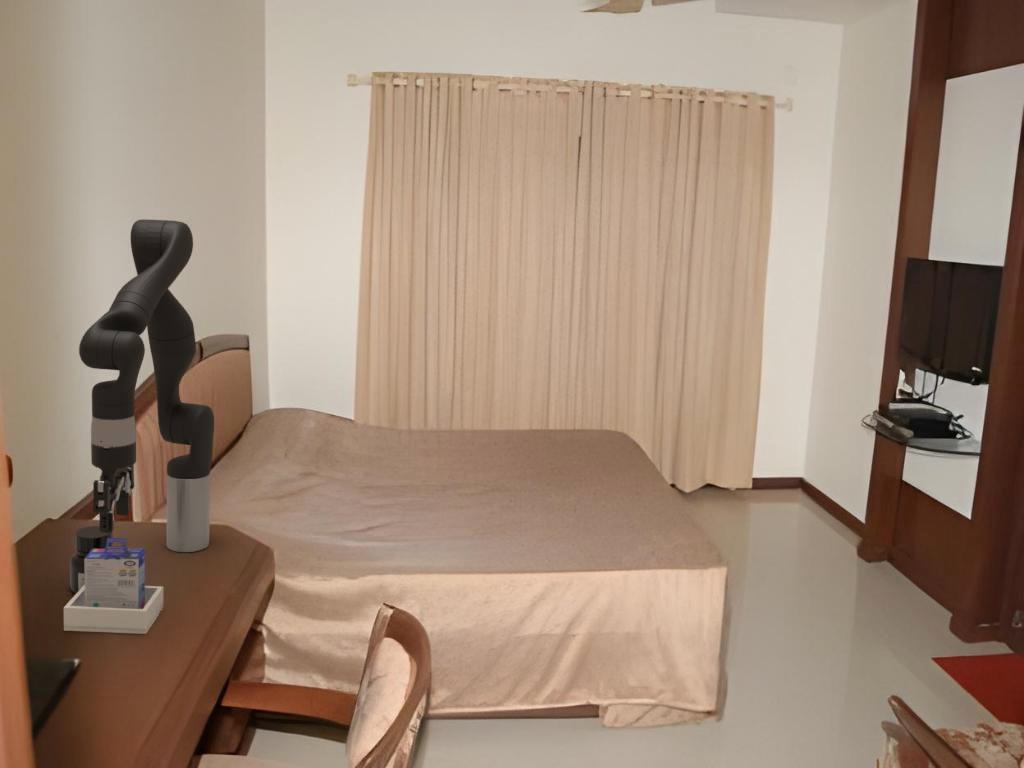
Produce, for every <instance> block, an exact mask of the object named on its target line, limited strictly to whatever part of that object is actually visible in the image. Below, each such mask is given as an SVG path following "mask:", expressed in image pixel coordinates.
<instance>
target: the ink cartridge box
mask: <svg viewBox="0 0 1024 768" xmlns="http://www.w3.org/2000/svg"><path fill="white" fill-rule="evenodd" d="M127 540H128V538H124V537H121V538H120V537H117V538H116V537H113V538H107V543H106V547H105V549H92V550H91V551H90V552H89V554H88V555H87V556H86V557H85V559H84V579H85V607H104V608H127V609H143V608H144V607H145V586H146V549H145V548H143V547H141V548H138V547H137V548H127V545H128V544H127V542H128V541H127ZM110 543H121V544H122V545H121V546H117V545H114V546H113V545H112V546H109V544H110Z"/></svg>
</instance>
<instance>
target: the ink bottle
mask: <svg viewBox="0 0 1024 768" xmlns="http://www.w3.org/2000/svg"><path fill="white" fill-rule="evenodd" d="M113 531H114V530H113ZM113 531H112V532H111V533H104V532H100V525H91V526H90V525H89V526H86V527H85V526H84V527H82V528H79V529H77V530H76V531H75V533H74V541H75V542H74V544H75V551H76V552H75V553H73V555H71V556H70V560H69V585H70V590H71V591H72V592H73V593H74V594H76V593H77V592H78V591H79V590H80V589H81V588H82V587H83V586H84V585H85V579H84V559H85V557H86V556H87V555H88V554H89V552H90V551H91V550H92V549H105V547H106V543H107V538H114V537H113V536H114V535H113ZM113 543H114V542H113ZM113 543H110V544H109V546H113Z"/></svg>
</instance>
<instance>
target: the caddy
mask: <svg viewBox="0 0 1024 768" xmlns="http://www.w3.org/2000/svg"><path fill="white" fill-rule="evenodd" d="M162 608H163V609H164V586H160V585H159V586H157V585H155V586H154V585H153V586H152V585H145V607H144V608H143V609H127V608H104V607H85V585H84V586H83V587H82V588H81V589H80V590H79V591H78V592H77V593H75V594H74V596H73V597H72V598H70V600H69V601H67V603H66V605H65V606H64V607H63V631H64V632H65V631H66V632H67V631H68V632H70V631H71V632H92V633H115V634H116V633H117V634H118V633H119V634H142V635H143V634H144V635H146V634H147V633H148V632H149V630H150V629H151V627H152V626H153V624H154V622H155V621H156V619H157V618H158V617H159V615H160V614H159V613H161V612H162V611H163V609H162ZM161 610H162V611H161ZM160 611H161V612H160Z"/></svg>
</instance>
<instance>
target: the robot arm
mask: <svg viewBox="0 0 1024 768" xmlns="http://www.w3.org/2000/svg"><path fill="white" fill-rule="evenodd" d="M193 238H194V236H193V233H192V231H191V228H190V226H189V225H188V224H187V223H185V222H183V221H177V220H171V219H170V220H168V219H167V220H165V219H145V218H144V219H138V220H136V221H134V223H133V224H132V226H131V229H130V248H131V254H132V259H133V263H134V266H135V271H136V276H134V277H133V278H131V279H130V280H129V281H127V282H126V283H125V284H124V285H122V287H120V289H119V291H118V292H117V293H116V295H115V298H114V300H113V302H112V303H111V305H110V307H109V310H108V311H107V312H105V313H104V314H102V316H101V317H100V318H98V320H97V321H95V322H94V323H93V324H92V325H91V326H90V327H89V328H88V329H87V330H86V331H85V333H84V334H83V335H82V337H81V340H80V343H79V346H78V347H79V348H78V354H79V358H80V360H81V361H82V363H83V364H84V366H86V367H88V368H90V369H95V370H110V371H119V373H118V377H117V379H114V380H106V381H99V382H98V383H96V384H94V385H93V387H92V389H91V425H90V444H91V445H90V451H91V453H90V455H91V459H90V460H91V464H92V466H93V467H95V468H97V469H99V470H100V471H101V474H100V476H99V479H98V480H97V479H95V480H94V481H93V484H92V485H93V488H92V489H93V492H92V493H93V504H92V505H93V506H92V507H93V509H92V510H93V513H94V514H98V515H99V526H100V532H104V533H111V532H112V531H114V530H115V529H114V528H115V526H114V525H115V524H114V509H115V513H116V515H117V516H128V515H129V514H130V496H131V494H132V490H134V489H135V469H134V468H135V467H134V466H135V464H136V462H137V425H136V419H135V418H136V416H135V392H136V387H137V382H138V377H139V373H140V371H141V368H142V364H143V360H144V358H145V354H146V353H145V351H146V348H145V343H144V341H143V338H142V337H141V335H142V334H143V333H144V332H145V330H146V329H147V336H148V337H147V338H148V343H149V349H150V353H151V359H152V364H153V373H154V378H155V387H156V388H155V389H156V404H157V405H156V407H157V408H156V409H157V419H158V420H157V421H158V422H157V423H158V429H159V433H160V436H161V438H162V439H163V440H164V441H165V442H166V443H167V442H168V443H171V444H177V445H187V446H190V447H189V453H187V454H183V455H179V456H175V457H173V458H172V459H170V460H169V461H168V462H167V465H166V547H167V550H171V551H172V552H178V553H191V552H198V551H202V550H205V549H206V548H207V547H209V546H210V523H211V521H210V519H211V518H210V517H211V516H210V514H211V509H210V508H211V507H210V506H211V466H212V461H213V450H214V449H213V448H214V433H215V416H214V412H213V409H212V408H211V407H210V406H209V405H205V404H204V405H203V404H198V403H197V404H196V403H190V402H188V403H187V402H182V400H181V398H180V397H181V396H180V384H181V382H182V380H183V377H184V375H185V374H186V372H187V371H188V369H189V367H190V366H191V363H193V360H194V358H195V355H196V352H197V343H196V335H195V326H194V322H193V320H192V318H191V315H190V314H189V313H188V311H187V310H186V309H185V308H184V306H183V304H182V303H181V302H180V301H179V300H178V298H176V296H175V295H174V294H173V293H172V292H171V290H170V289H169V288H170V286H172V284H173V283H174V282H175V281H176V279H177V278H178V277H179V275H180V274H181V273H182V272H183V270H184V269H185V267H186V266H187V265H188V263H189V262H190V259H191V256H192V254H193V249H194V239H193Z"/></svg>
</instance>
